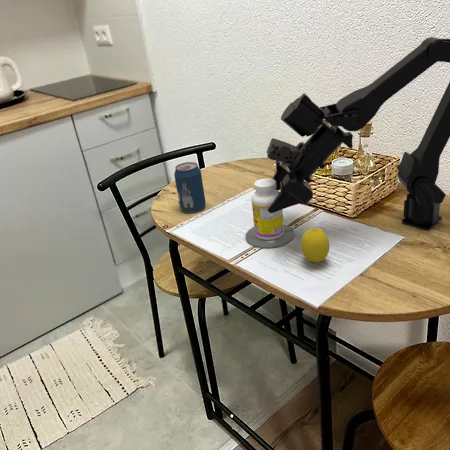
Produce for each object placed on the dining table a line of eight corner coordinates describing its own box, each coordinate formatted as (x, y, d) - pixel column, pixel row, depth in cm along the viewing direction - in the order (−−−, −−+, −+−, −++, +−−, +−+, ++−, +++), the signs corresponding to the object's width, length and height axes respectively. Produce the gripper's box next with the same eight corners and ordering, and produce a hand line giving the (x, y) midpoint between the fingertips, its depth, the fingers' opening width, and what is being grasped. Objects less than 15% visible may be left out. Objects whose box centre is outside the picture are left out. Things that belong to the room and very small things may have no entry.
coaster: (303, 232, 107) (303, 230, 107) (272, 253, 101) (272, 251, 100) (267, 220, 114) (267, 218, 114) (235, 239, 108) (235, 237, 108)
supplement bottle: (256, 227, 111) (251, 177, 105) (284, 226, 110) (281, 175, 104) (253, 242, 105) (248, 189, 99) (283, 241, 104) (280, 187, 98)
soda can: (202, 200, 130) (195, 159, 124) (209, 210, 124) (203, 167, 118) (177, 206, 128) (170, 165, 122) (184, 216, 122) (176, 173, 117)
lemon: (323, 272, 92) (322, 237, 89) (297, 266, 95) (295, 232, 92) (333, 258, 96) (333, 223, 93) (308, 253, 99) (307, 219, 96)
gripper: (283, 114, 104) (239, 166, 110) (293, 140, 87) (240, 199, 93) (320, 144, 107) (274, 193, 113) (336, 175, 91) (282, 230, 96)
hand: (267, 202), depth 104 cm, fingers open, 9 cm apart
